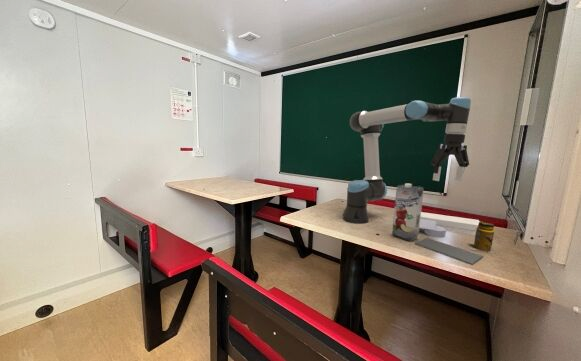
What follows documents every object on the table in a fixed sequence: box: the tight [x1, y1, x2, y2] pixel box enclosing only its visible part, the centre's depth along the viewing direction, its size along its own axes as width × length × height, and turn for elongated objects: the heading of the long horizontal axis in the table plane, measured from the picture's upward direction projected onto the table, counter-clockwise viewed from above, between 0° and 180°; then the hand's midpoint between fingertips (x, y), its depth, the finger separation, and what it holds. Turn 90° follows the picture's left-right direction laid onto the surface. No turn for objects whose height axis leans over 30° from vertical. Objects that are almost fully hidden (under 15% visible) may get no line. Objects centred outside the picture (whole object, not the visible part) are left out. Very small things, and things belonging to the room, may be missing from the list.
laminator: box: [420, 211, 481, 236], centre depth 131 cm, size 34×12×6 cm, turn 63°
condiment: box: [465, 221, 495, 254], centre depth 104 cm, size 7×8×12 cm
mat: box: [414, 237, 484, 266], centre depth 101 cm, size 22×12×1 cm, turn 35°
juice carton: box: [392, 183, 425, 242], centre depth 112 cm, size 9×10×27 cm
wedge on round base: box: [419, 219, 447, 238], centre depth 121 cm, size 9×7×13 cm
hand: (447, 180), depth 107 cm, fingers open, 13 cm apart
